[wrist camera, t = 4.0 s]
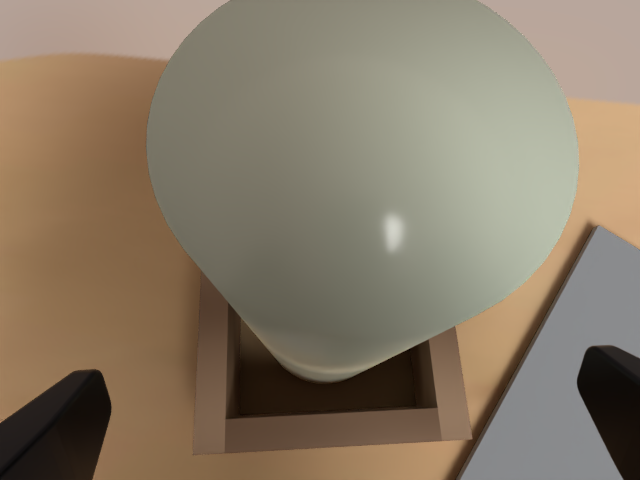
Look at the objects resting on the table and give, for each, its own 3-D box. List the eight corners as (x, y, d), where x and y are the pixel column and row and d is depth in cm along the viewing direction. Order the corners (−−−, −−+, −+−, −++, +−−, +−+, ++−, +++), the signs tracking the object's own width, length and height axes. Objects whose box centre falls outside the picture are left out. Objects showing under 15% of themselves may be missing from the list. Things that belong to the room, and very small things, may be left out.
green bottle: (304, 409, 17) (287, 445, 4) (243, 302, 18) (78, 61, 5) (406, 341, 18) (670, 184, 5) (341, 244, 19) (410, -79, 6)
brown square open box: (445, 432, 17) (472, 439, 14) (212, 445, 16) (193, 455, 14) (416, 218, 20) (434, 189, 17) (219, 226, 20) (204, 197, 17)
